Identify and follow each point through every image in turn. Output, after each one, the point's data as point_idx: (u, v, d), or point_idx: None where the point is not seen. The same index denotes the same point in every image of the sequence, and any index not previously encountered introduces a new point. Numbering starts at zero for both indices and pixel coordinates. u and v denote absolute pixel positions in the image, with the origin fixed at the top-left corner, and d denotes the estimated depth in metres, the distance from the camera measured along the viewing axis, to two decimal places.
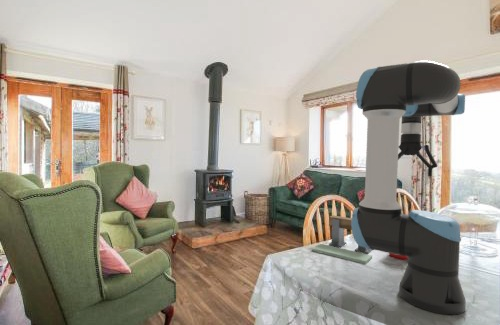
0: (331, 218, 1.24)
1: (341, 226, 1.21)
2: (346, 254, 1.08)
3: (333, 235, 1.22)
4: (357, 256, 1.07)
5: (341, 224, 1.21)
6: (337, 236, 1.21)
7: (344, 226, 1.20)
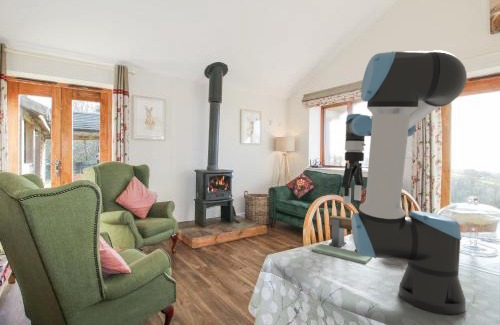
0: (331, 218, 1.24)
1: (341, 226, 1.21)
2: (346, 254, 1.08)
3: (333, 235, 1.22)
4: (357, 256, 1.07)
5: (341, 224, 1.21)
6: (337, 236, 1.21)
7: (344, 226, 1.20)
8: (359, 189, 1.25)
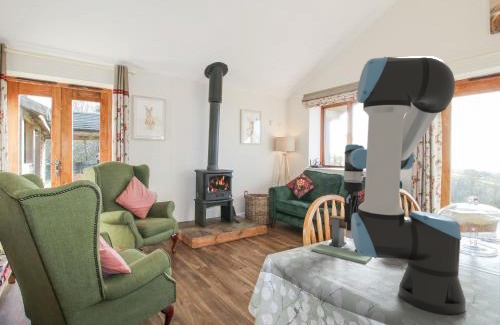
0: (331, 218, 1.24)
1: (341, 226, 1.21)
2: (346, 254, 1.08)
3: (333, 235, 1.22)
4: (357, 256, 1.07)
5: (341, 224, 1.21)
6: (337, 236, 1.21)
7: (344, 226, 1.20)
8: None
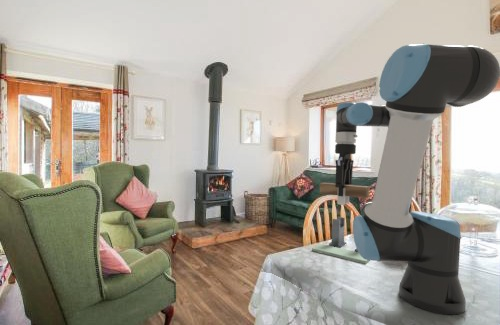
0: (322, 184, 1.15)
1: (332, 192, 1.12)
2: (346, 254, 1.08)
3: (333, 235, 1.22)
4: (357, 256, 1.07)
5: (333, 190, 1.12)
6: (337, 236, 1.21)
7: (336, 192, 1.11)
8: None
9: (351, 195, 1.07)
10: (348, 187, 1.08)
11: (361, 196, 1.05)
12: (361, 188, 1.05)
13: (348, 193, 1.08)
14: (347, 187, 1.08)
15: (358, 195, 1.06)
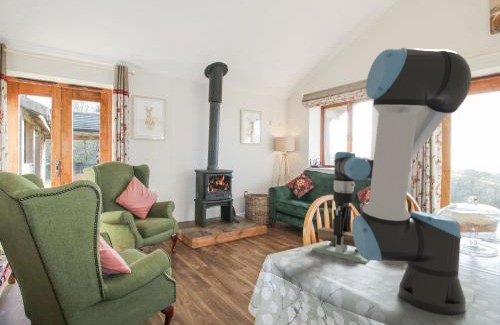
0: (320, 231, 1.15)
1: (331, 239, 1.12)
2: (346, 254, 1.08)
3: None
4: (357, 256, 1.07)
5: (331, 237, 1.12)
6: None
7: (334, 240, 1.12)
8: None
9: (349, 244, 1.08)
10: (346, 236, 1.09)
11: None
12: None
13: (346, 242, 1.09)
14: (345, 236, 1.09)
15: None
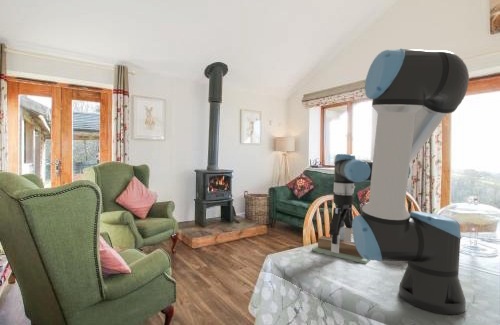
0: (320, 239, 1.15)
1: (330, 248, 1.13)
2: (346, 254, 1.08)
3: None
4: None
5: None
6: None
7: None
8: (349, 232, 1.16)
9: (349, 253, 1.08)
10: (346, 245, 1.09)
11: (359, 256, 1.06)
12: None
13: (346, 251, 1.09)
14: (345, 245, 1.09)
15: (356, 254, 1.07)
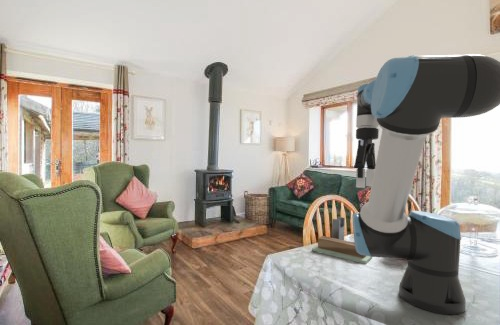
0: (320, 239, 1.15)
1: (330, 248, 1.13)
2: (346, 254, 1.08)
3: (333, 235, 1.22)
4: None
5: (331, 246, 1.13)
6: (337, 236, 1.21)
7: (334, 249, 1.12)
8: (372, 173, 1.08)
9: (349, 253, 1.08)
10: (346, 245, 1.09)
11: (359, 256, 1.06)
12: None
13: (346, 251, 1.09)
14: (345, 245, 1.09)
15: (356, 254, 1.07)
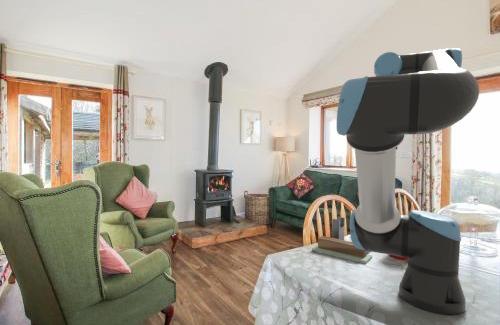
0: (320, 239, 1.15)
1: (330, 248, 1.13)
2: (346, 254, 1.08)
3: (333, 235, 1.22)
4: None
5: (331, 246, 1.13)
6: (337, 236, 1.21)
7: (334, 249, 1.12)
8: None
9: (349, 253, 1.08)
10: (346, 245, 1.09)
11: (359, 256, 1.06)
12: None
13: (346, 251, 1.09)
14: (345, 245, 1.09)
15: (356, 254, 1.07)
